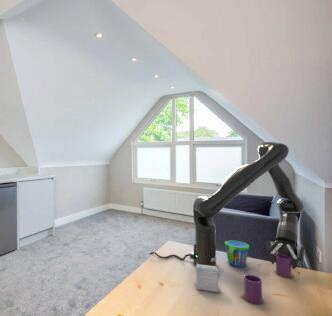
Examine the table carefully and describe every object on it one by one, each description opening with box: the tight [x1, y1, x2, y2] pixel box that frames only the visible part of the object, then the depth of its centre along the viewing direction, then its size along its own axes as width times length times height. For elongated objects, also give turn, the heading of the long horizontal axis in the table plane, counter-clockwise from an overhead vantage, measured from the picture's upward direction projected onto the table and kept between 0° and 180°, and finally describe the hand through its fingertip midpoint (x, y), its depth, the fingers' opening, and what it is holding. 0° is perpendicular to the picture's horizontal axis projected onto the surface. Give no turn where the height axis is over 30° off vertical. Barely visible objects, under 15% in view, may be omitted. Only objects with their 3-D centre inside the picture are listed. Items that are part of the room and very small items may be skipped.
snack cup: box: [224, 239, 250, 268], centre depth 122 cm, size 16×10×10 cm
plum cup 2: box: [275, 253, 293, 278], centre depth 111 cm, size 6×6×8 cm
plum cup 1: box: [243, 274, 263, 305], centre depth 92 cm, size 6×6×8 cm
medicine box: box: [195, 264, 219, 293], centre depth 100 cm, size 8×4×9 cm, turn 71°
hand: (282, 265), depth 110 cm, fingers open, 7 cm apart
